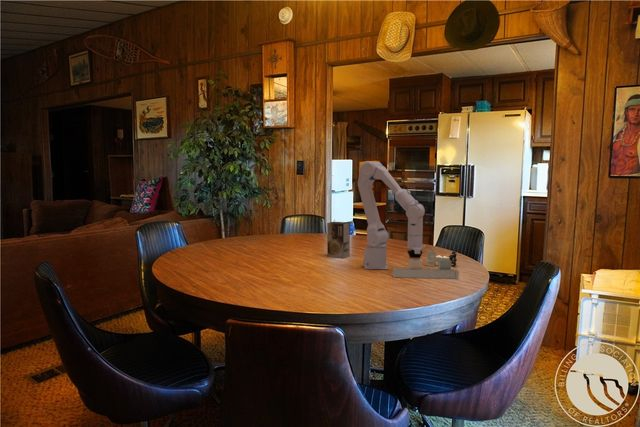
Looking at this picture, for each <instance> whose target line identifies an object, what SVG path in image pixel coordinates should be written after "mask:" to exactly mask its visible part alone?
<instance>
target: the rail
mask: <svg viewBox="0 0 640 427" xmlns="http://www.w3.org/2000/svg"><path fill="white" fill-rule="evenodd" d="M459 274H460V271H459V269H456V268H452V264H451V260H450V259H446V258H438V262H437V268H432V267H430V268H409V267H393V268H392V278H393V279H396V278H405V279H406V278H407V279H408V278H411V279H413V278H414V279H415V278H416V279H455V280H459V276H460V275H459Z"/></svg>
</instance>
